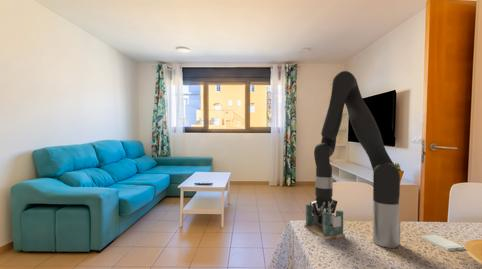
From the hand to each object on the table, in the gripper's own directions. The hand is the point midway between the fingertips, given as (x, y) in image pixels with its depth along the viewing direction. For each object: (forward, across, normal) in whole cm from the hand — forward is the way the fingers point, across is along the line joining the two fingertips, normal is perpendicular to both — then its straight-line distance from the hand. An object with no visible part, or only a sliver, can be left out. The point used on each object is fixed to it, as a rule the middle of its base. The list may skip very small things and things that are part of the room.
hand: (323, 223), depth 117 cm
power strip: (+1, 0, 0) cm, 1 cm away
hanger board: (+4, 0, 0) cm, 4 cm away
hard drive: (+5, +38, -27) cm, 47 cm away
